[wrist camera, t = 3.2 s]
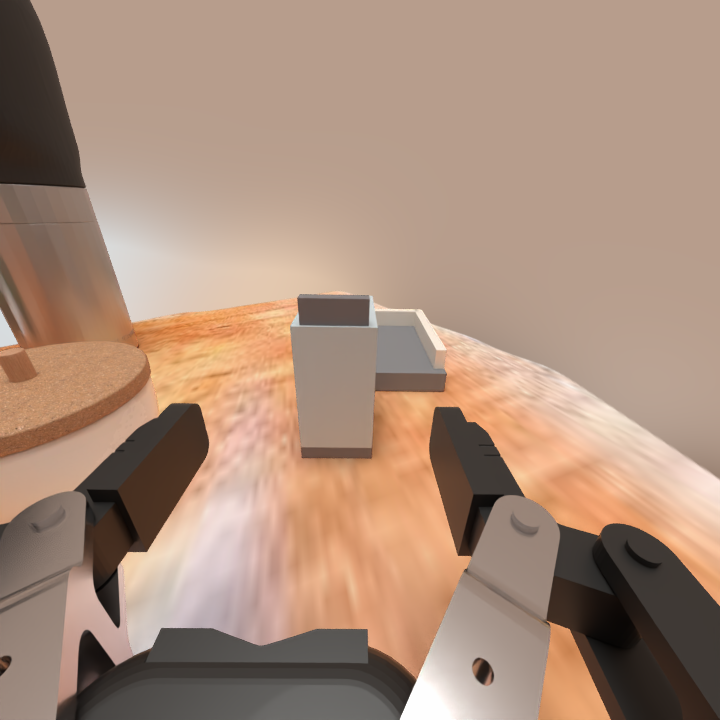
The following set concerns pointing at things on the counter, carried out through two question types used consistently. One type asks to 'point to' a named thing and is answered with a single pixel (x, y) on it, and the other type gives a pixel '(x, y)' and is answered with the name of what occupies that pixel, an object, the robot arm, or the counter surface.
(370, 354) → the tall grey block
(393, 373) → the tray
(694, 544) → the counter surface
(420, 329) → the tray
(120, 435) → the lidded jar
